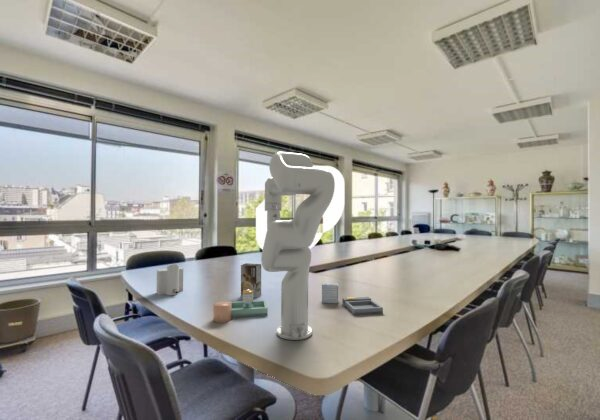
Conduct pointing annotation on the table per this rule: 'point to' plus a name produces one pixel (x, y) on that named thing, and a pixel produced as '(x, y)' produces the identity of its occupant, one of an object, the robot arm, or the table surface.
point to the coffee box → (251, 278)
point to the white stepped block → (170, 280)
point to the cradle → (361, 306)
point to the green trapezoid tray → (249, 309)
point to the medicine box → (329, 292)
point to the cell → (247, 299)
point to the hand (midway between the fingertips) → (272, 245)
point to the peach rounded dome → (222, 312)
